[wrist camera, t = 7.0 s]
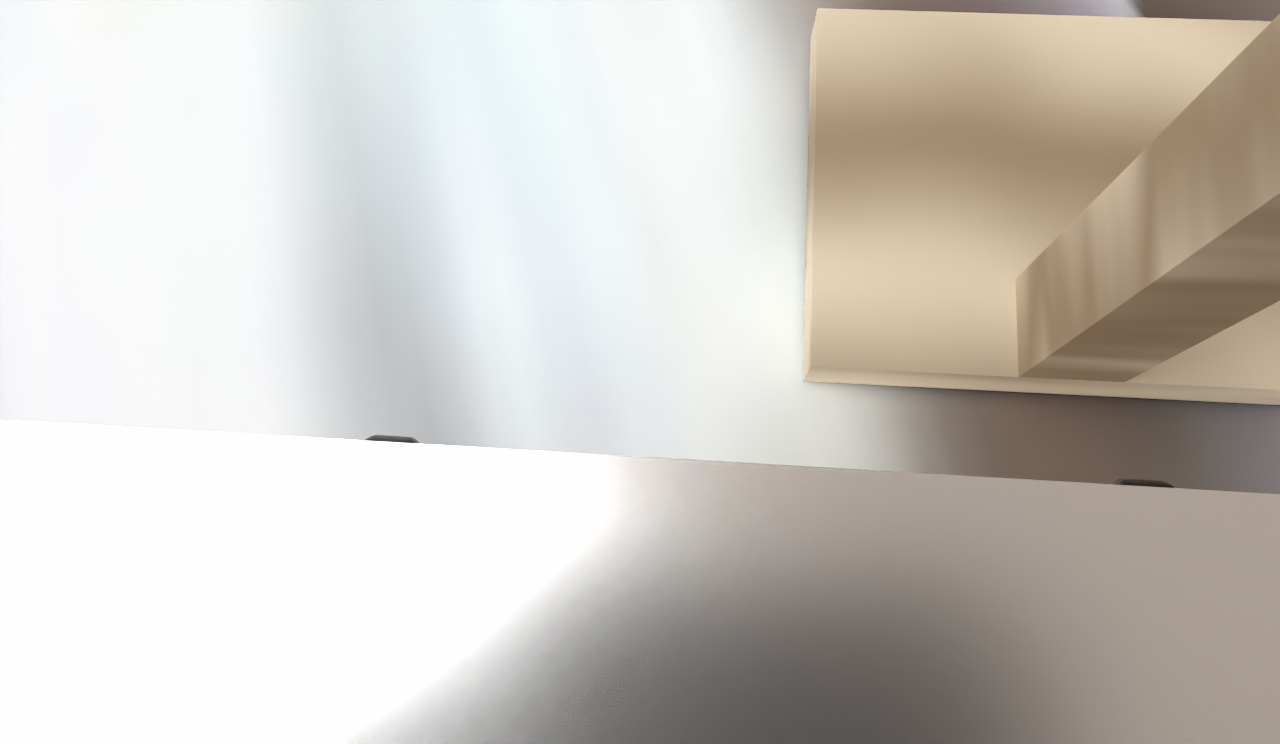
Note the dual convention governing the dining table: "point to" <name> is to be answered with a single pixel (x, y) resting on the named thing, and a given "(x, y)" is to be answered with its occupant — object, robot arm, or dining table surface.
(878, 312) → the birch stand
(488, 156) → the dining table surface
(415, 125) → the dining table surface
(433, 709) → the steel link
